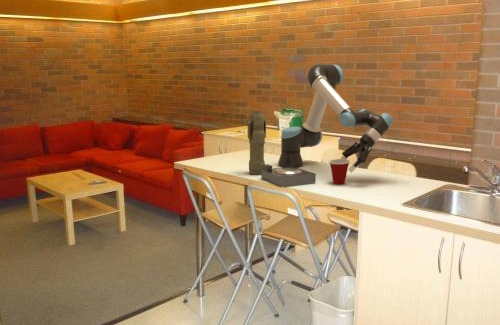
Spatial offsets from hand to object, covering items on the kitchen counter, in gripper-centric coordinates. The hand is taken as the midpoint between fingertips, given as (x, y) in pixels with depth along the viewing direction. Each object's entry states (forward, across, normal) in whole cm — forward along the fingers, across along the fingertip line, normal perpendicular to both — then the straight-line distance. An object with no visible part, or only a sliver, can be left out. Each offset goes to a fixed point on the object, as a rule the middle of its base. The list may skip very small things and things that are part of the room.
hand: (343, 168), depth 251 cm
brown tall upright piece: (+30, +36, +19) cm, 51 cm away
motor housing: (+23, +13, +12) cm, 29 cm away
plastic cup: (+7, +1, -4) cm, 8 cm away
